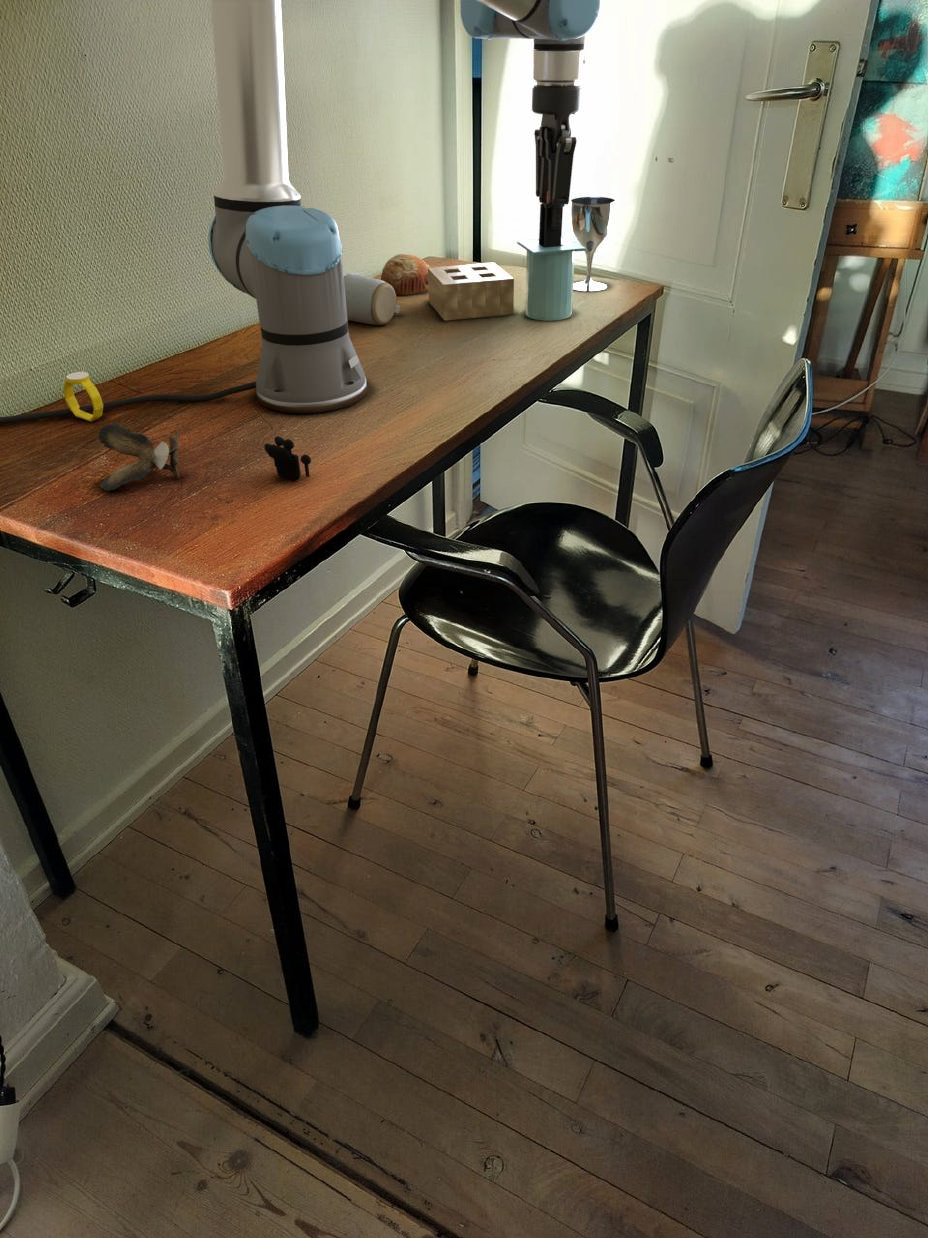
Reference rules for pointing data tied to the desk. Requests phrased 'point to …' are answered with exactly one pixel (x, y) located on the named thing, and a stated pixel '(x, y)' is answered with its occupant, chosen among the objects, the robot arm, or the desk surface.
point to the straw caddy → (470, 291)
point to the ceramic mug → (369, 299)
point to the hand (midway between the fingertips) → (549, 247)
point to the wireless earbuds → (287, 459)
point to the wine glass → (591, 231)
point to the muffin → (406, 274)
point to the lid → (537, 249)
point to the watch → (92, 391)
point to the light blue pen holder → (549, 285)
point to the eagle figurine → (137, 454)
